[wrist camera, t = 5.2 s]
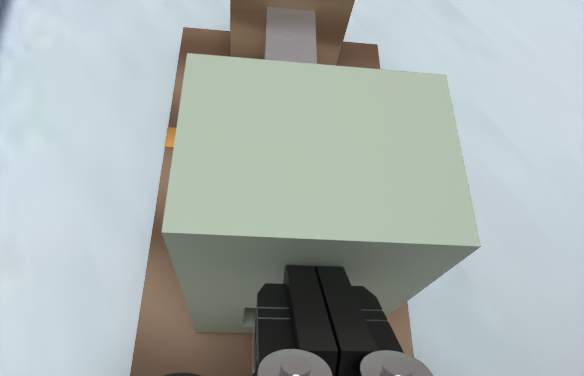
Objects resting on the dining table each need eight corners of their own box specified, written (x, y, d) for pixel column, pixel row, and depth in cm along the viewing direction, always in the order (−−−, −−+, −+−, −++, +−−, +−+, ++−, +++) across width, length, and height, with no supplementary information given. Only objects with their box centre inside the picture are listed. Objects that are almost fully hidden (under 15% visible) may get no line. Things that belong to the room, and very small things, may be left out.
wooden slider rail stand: (185, 45, 29) (172, -68, 23) (370, 61, 30) (409, -42, 24) (98, 641, 16) (6, 786, 9) (430, 626, 17) (553, 745, 11)
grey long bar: (263, 36, 25) (266, -2, 23) (308, 40, 25) (316, 3, 23) (241, 574, 14) (243, 599, 12) (320, 571, 15) (336, 596, 12)
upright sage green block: (206, 222, 22) (187, 53, 12) (352, 229, 22) (446, 74, 13) (195, 332, 19) (161, 232, 10) (359, 335, 20) (480, 246, 10)
